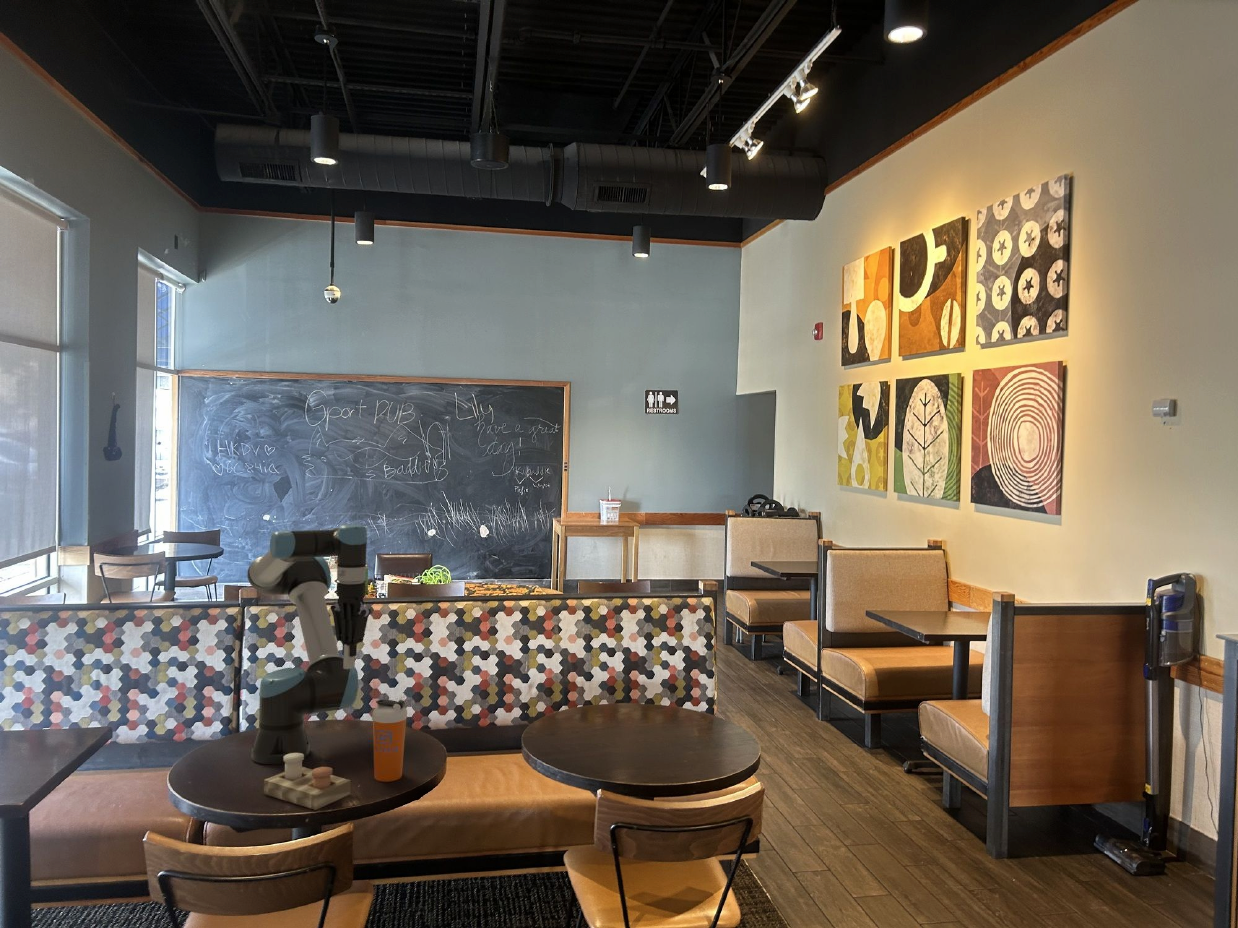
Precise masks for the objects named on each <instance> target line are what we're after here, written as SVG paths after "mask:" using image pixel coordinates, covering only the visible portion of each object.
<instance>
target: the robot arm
mask: <svg viewBox="0 0 1238 928" xmlns="http://www.w3.org/2000/svg"><path fill="white" fill-rule="evenodd" d="M367 542H368V534H367V527H366V526H365V525H362V524H361V525H360V524H343V525H339V527H338V528H337V527H335V528H330V529H315V530H312V529H310V530H280V531H274V532H273V533H272V534H271V536H270V539H269V550H268V551H267V552H266V553H265V554H264V555H262V556H260V557H257V558H256V559H254V560H253V561H252V562H251V563H250V564H249V566H248V569H247V573H246V574H247V580H248V583H249V584H250V585H251V587H252V588H253V589H254V590H256V591H258V592H260V593H262V594H266V595H269V596H283V595H284V596H285V595H288V599H289V601H290V603H292V604H293V605H295V607H296V611H297V612H296V613H297V615H298V618H299V619H298V620H299V624H300V628H301V633H302V637H303V638H302V639H303V641H304V644H305V646H304V647H305V649H306V654H307V659H308V663H309V665H308V667H307V668H306V669H304V668H303V667H297V666H295V667H286V668H280V669H277V670H273V671H272V672H269V673H267V674H266V675H264V676H263V677H262V679H261V680H260V684H259V692H258V696H259V705H258V706H259V708H258V709H259V713H258V717H259V718H258V730H257V734H256V737H255V741H254V744H253V745H252V748H251V760H252V761H253V762H255V763H257V764H263V765H264V764H265V765H282V764H283V765H284V764H285V762H284V761H283V759H284V756H285V755H287V754H290V753H302V754H304V758H306V757H307V756H309V755H310V746H311V745H310V741H309V739H308V735H307V732H306V729H305V725H304V723H305V722H304V720H305V716H306V715H312V714H317V713H326V712H331V711H340V710H342V709H348V708H350V707H353V706H354V704H355V702H356V700H357V696H358V691H359V673H358V669H357V668H356V665H355V664H356V656H357V647H358V644H360V643H363V641H364V639H365V634H366V629H367V623H368V620H369V619H368V618H369V616H370V614H371V613H372V610H371V608H368V607H366V606H365V602H364V596H365V595H366V582H365V581H366V578H367V575H366V574H367V571H366V570H367V568H366V567H367V547H368V546H367ZM325 557H326V558H327V557H329V558H330V557H337V563H336V565H337V567H336V568H337V569H336V580H337V583H336V596H337V598H338V599H337V600H336V601H337V603H335V604H332V605H330V610H331V613H332V618H333V623H334V628H333V626H332V625H333V624H332V621H331V617H330V613H329V611H328V610H329V609H328V605H327V603H326V599H325V597H326V596H327V594H328V591H329V590H330V589H331V586H332V576H331V575H332V573H331V568H330V566H329V564H328V562H327V560H326V559H325ZM334 630H335V633H334ZM335 636H336V637H335ZM336 641H338V642H339V641H340V642H341V644H342V646H341V647H342V656H340V652H339V649H338V648H339V647H338V645H337V642H336ZM305 670H306V671H305Z"/></svg>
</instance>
